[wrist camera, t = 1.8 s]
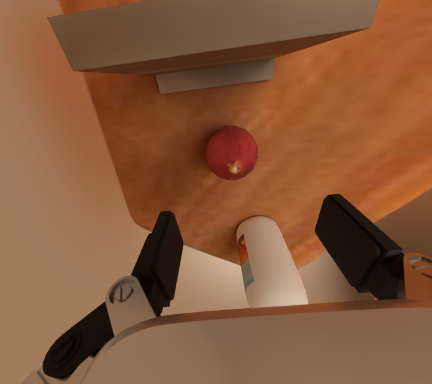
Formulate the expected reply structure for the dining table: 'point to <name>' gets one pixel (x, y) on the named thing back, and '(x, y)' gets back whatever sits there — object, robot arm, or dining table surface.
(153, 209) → the dining table surface
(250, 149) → the onion
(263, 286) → the milk bottle
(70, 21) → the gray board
